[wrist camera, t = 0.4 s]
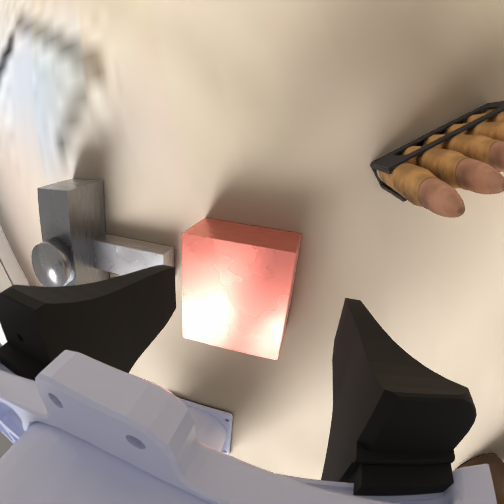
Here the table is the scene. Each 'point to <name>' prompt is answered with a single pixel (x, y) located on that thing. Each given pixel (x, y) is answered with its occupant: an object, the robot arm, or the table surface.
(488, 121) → the ammunition clip
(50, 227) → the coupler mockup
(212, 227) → the red block
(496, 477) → the plant pot
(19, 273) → the laminator
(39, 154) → the table surface
